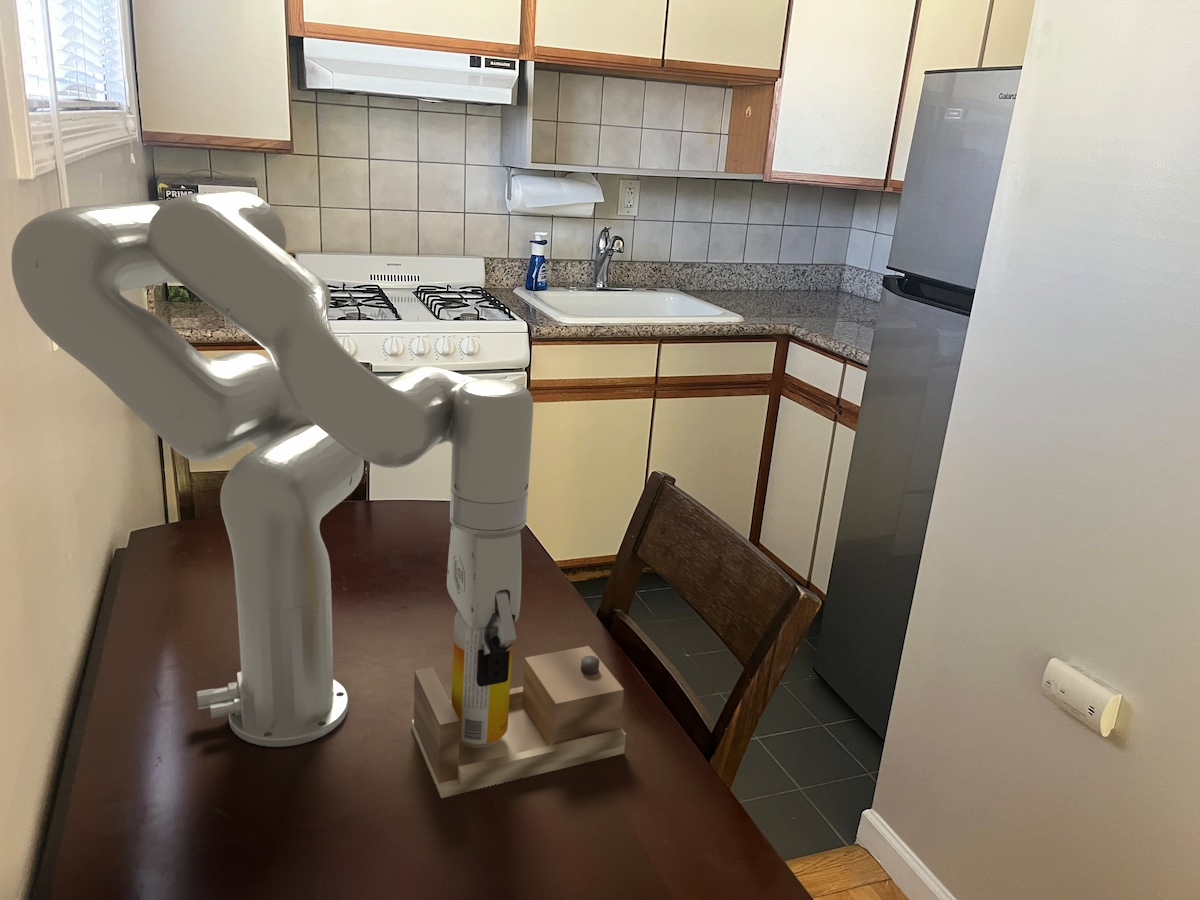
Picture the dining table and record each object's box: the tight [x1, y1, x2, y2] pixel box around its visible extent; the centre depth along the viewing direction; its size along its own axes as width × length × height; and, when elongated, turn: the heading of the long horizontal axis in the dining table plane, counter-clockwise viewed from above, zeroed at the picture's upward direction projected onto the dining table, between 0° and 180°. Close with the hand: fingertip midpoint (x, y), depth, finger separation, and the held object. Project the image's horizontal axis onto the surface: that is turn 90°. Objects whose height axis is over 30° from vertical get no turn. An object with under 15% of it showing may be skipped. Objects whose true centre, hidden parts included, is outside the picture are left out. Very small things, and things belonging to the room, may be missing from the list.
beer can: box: [450, 609, 514, 747], centre depth 94 cm, size 6×6×15 cm
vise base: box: [411, 666, 627, 799], centre depth 97 cm, size 20×12×8 cm, turn 115°
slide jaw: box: [522, 645, 625, 746], centre depth 100 cm, size 8×9×7 cm
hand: (481, 663), depth 93 cm, fingers closed on beer can, 5 cm apart
